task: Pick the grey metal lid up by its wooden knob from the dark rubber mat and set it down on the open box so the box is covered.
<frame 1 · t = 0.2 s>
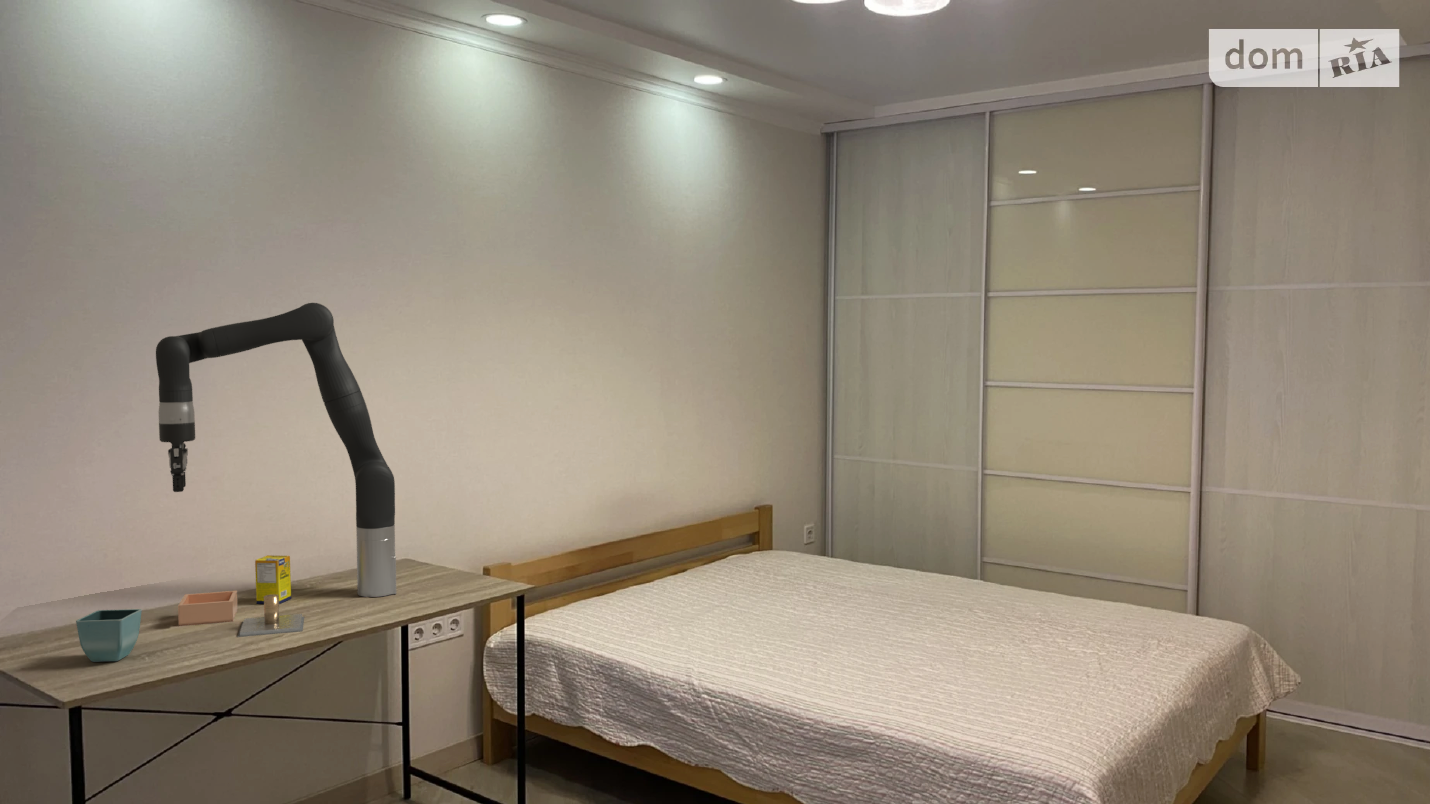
hand: (179, 489, 243), 29 cm above the table, fingers open, 8 cm apart
supplement box: (274, 602, 252), on the table
open box: (209, 619, 236), on the table
flower pot: (110, 659, 206), on the table
mat: (272, 628, 228), on the table
lid: (272, 626, 228), resting on mat
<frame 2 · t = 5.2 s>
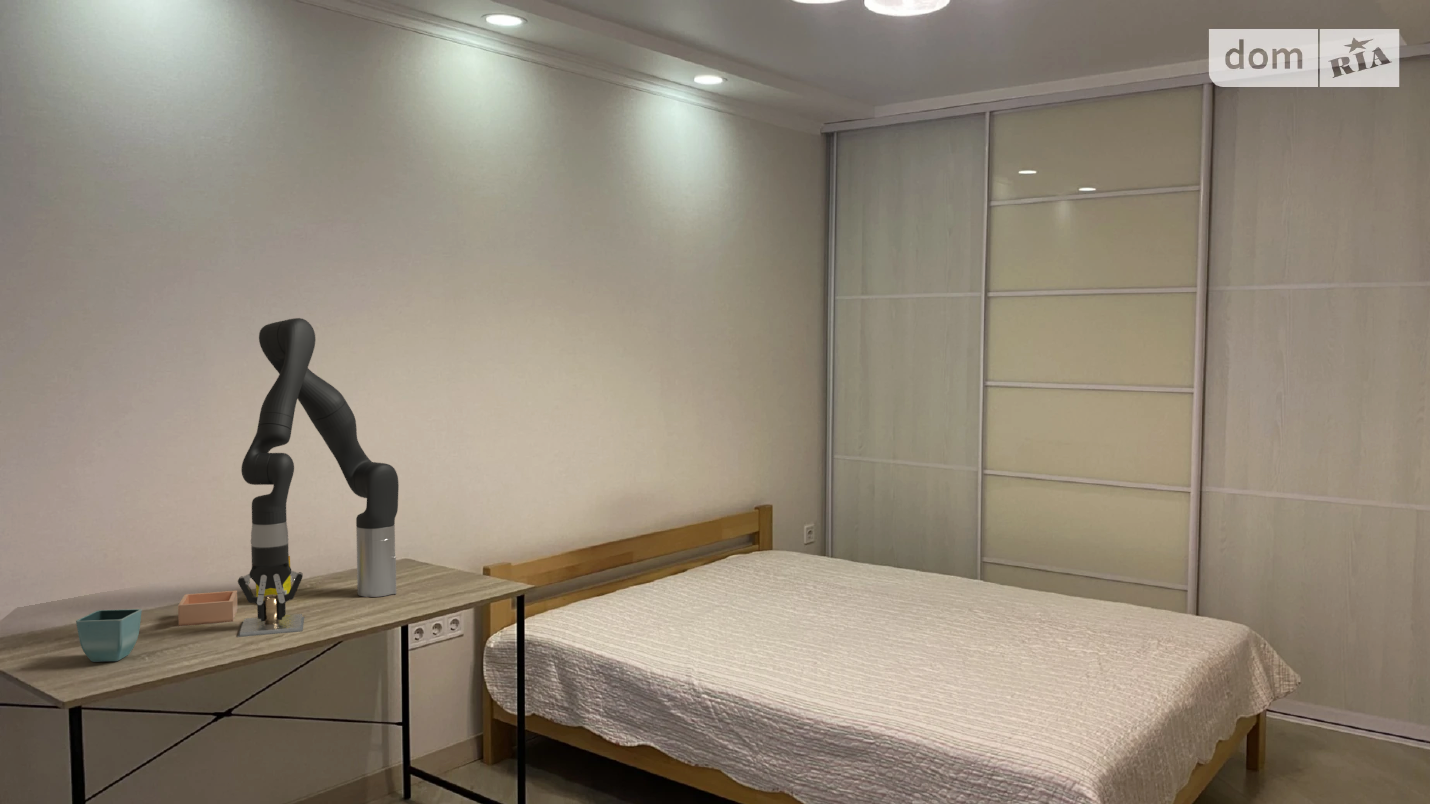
hand: (271, 619, 228), 2 cm above the table, fingers closed on lid, 3 cm apart
lid: (272, 626, 228), resting on mat, touching gripper
everything else where it was.
when the fingers open (7 cm above the table, at t = 10.1 s): lid stays where it is, resting on open box.
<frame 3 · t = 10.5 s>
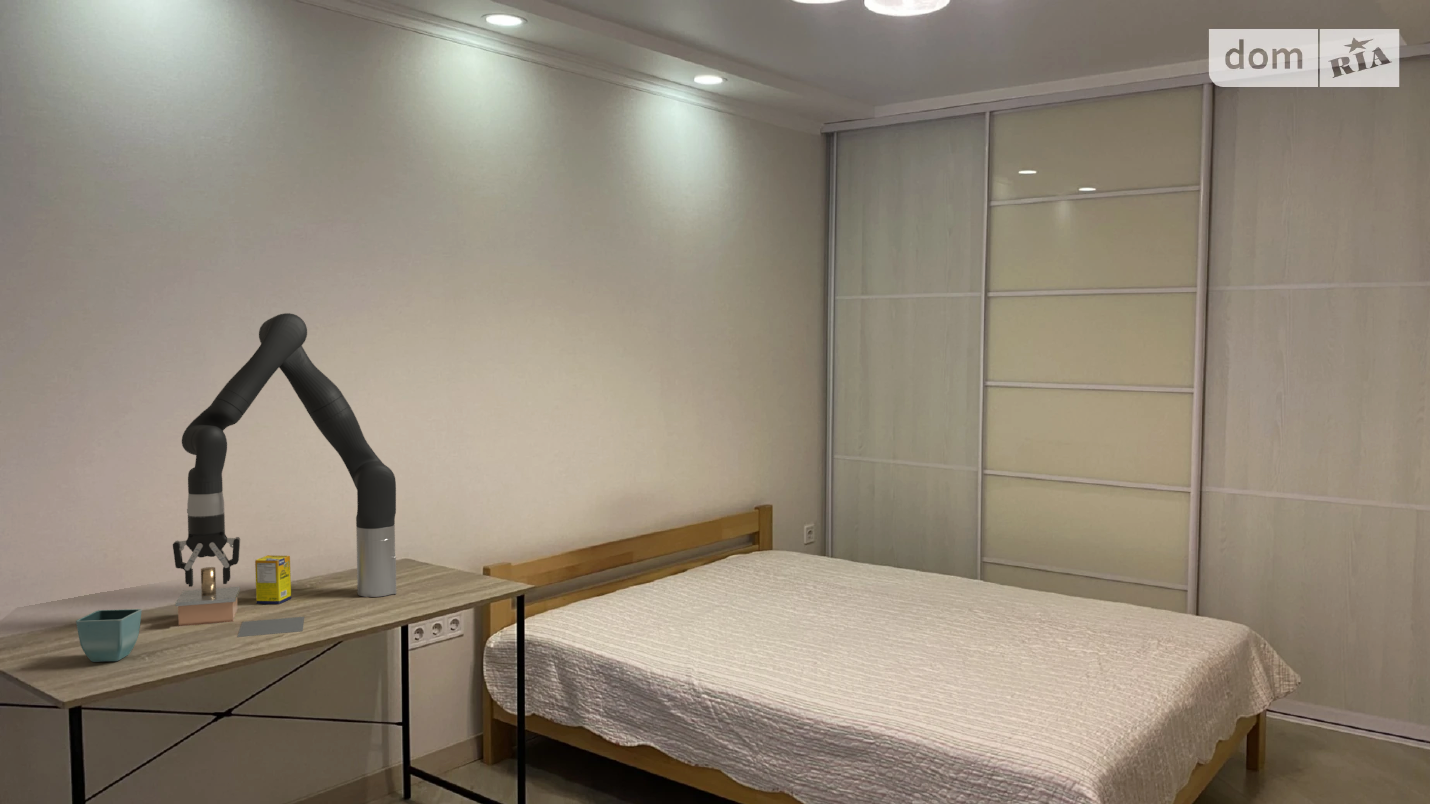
hand: (208, 584, 235), 8 cm above the table, fingers open, 6 cm apart
lid: (208, 597, 235), point 5 cm above the table, touching open box
everything else where it was.
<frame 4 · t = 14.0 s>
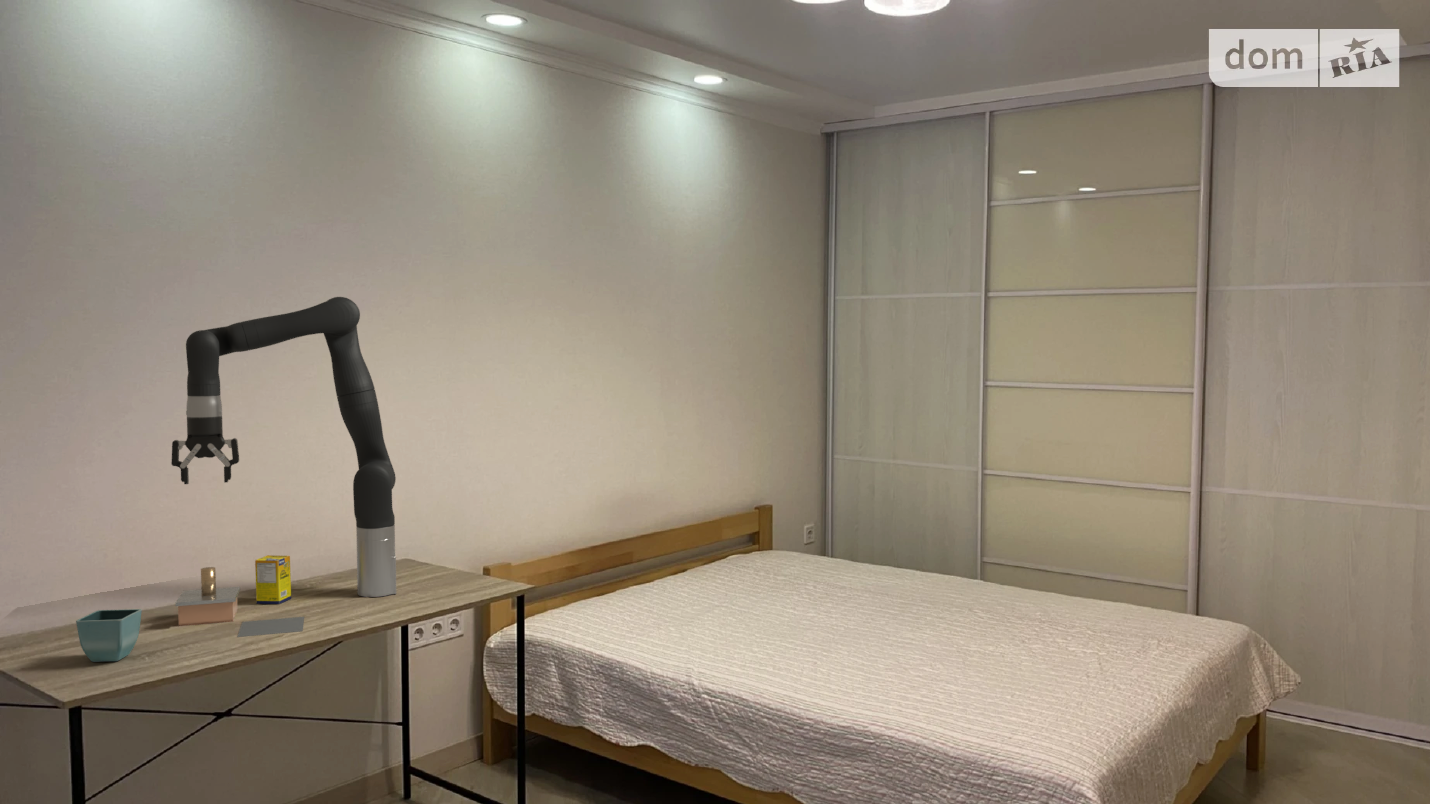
hand: (206, 483, 244), 30 cm above the table, fingers open, 8 cm apart
nothing on the table moved.
at the end: lid 0.1 cm off-centre on the open box, point 5.0 cm above the open box's base; lid tilted 0°; the gripper is holding nothing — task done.
